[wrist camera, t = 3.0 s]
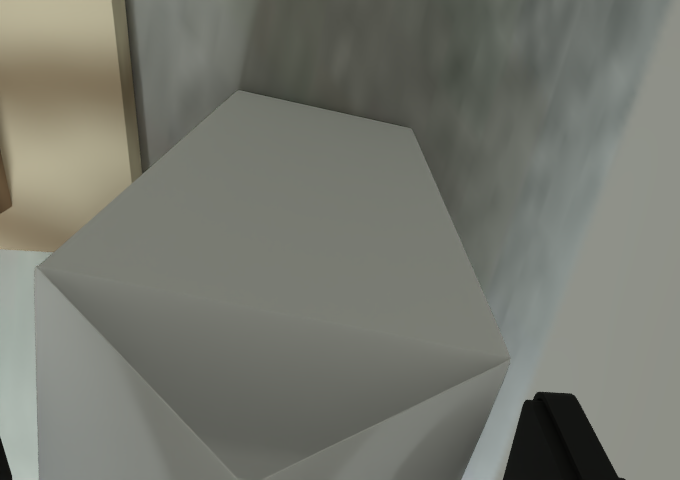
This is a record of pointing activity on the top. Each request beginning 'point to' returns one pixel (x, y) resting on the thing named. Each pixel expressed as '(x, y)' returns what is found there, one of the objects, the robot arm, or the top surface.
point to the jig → (63, 117)
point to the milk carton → (267, 313)
